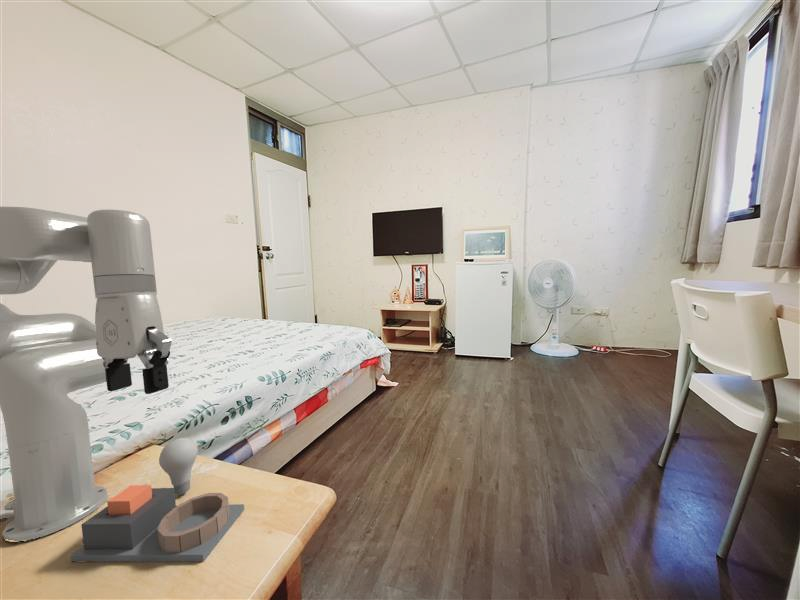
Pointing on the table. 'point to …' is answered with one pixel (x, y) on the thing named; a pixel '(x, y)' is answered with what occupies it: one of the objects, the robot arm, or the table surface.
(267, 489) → the table surface
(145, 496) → the switch button
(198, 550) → the panel
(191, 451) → the lightbulb
